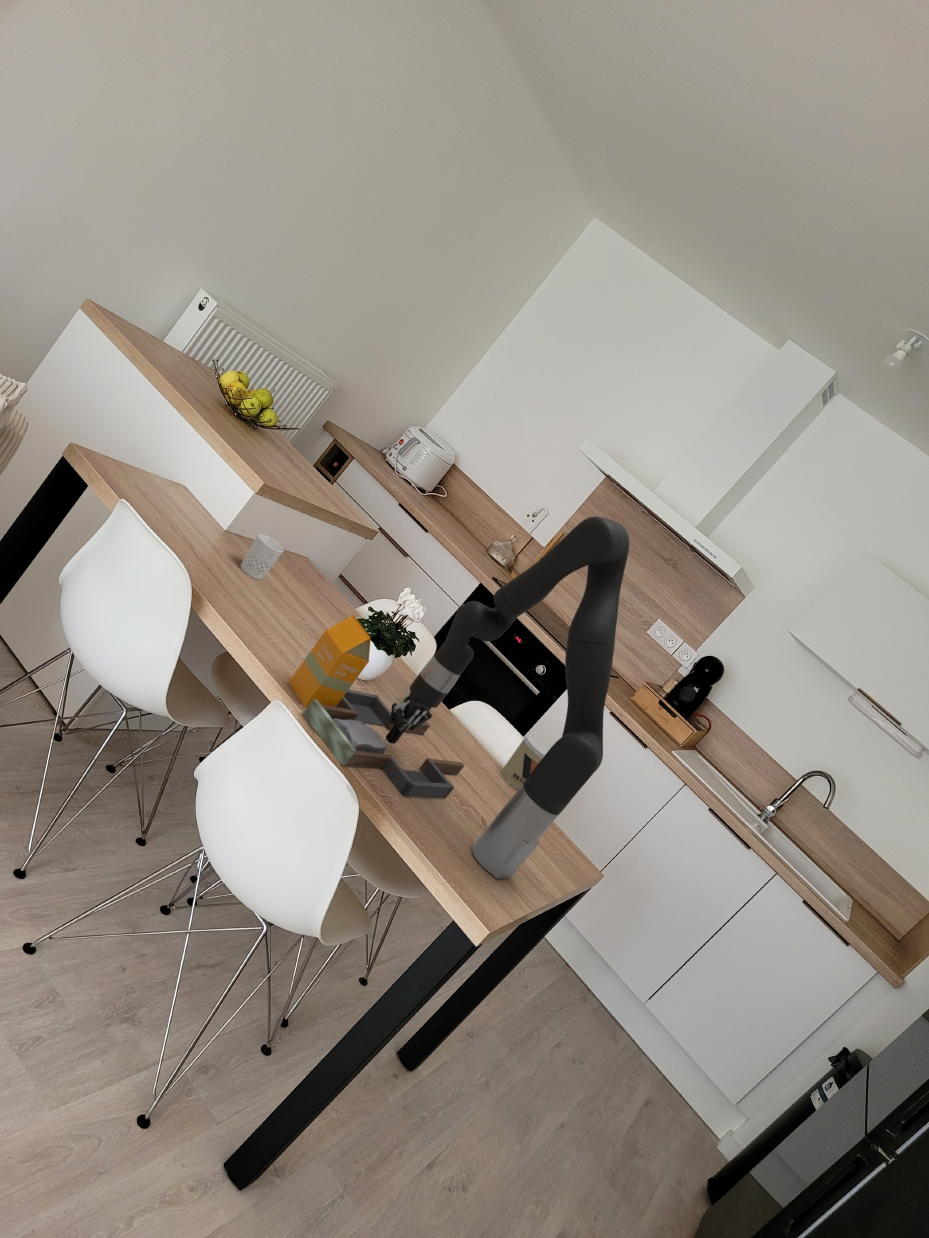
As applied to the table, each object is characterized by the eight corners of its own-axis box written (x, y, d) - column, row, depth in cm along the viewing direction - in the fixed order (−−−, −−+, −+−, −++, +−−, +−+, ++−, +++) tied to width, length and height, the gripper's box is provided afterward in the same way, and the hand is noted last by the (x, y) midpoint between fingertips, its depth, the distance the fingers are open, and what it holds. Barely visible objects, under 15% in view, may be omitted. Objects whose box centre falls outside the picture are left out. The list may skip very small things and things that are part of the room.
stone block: (317, 733, 171) (348, 758, 165) (328, 713, 170) (359, 737, 165) (352, 738, 181) (383, 761, 175) (362, 719, 180) (393, 742, 175)
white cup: (232, 563, 219) (252, 533, 217) (247, 563, 226) (266, 534, 224) (254, 581, 217) (275, 551, 215) (268, 580, 225) (288, 551, 223)
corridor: (457, 775, 194) (467, 762, 193) (340, 765, 161) (352, 750, 160) (420, 731, 202) (429, 719, 202) (302, 713, 169) (313, 699, 168)
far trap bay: (387, 726, 192) (395, 717, 191) (344, 720, 180) (351, 709, 179) (369, 704, 196) (376, 695, 196) (325, 696, 184) (333, 686, 183)
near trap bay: (446, 797, 179) (454, 787, 179) (403, 795, 167) (411, 785, 166) (425, 772, 184) (433, 762, 183) (381, 768, 171) (390, 758, 170)
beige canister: (503, 783, 209) (532, 748, 206) (494, 763, 217) (522, 729, 215) (531, 798, 213) (559, 763, 210) (521, 777, 221) (548, 744, 219)
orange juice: (304, 706, 173) (357, 632, 168) (288, 681, 178) (339, 609, 174) (331, 713, 178) (384, 642, 174) (315, 688, 184) (366, 619, 180)
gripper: (428, 688, 170) (380, 751, 174) (462, 695, 181) (416, 754, 185) (407, 665, 174) (361, 727, 178) (441, 674, 185) (397, 732, 188)
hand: (389, 741), depth 181 cm, fingers closed
